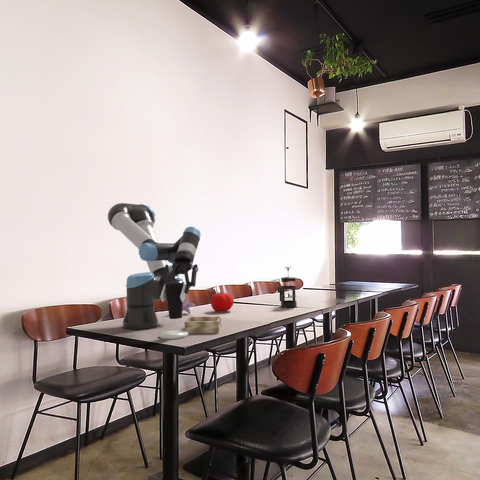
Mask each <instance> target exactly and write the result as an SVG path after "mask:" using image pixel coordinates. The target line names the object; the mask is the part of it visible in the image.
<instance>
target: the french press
mask: <svg viewBox="0 0 480 480" xmlns="http://www.w3.org/2000/svg"><path fill="white" fill-rule="evenodd" d="M284 269H286V270H287V276H284V277H280V280H281V283H287V285H279V302H280V308H282V309H296V308H298V305H297V304H298V303H297V302H298V301H297V300H296V289H297V286H296V285H290V284H289V283H290V282H296V279H297V277H293V276H289V271H290V269H292V267H291V266H290V267H289V266H287V267H284ZM285 290H288V291H287V295H286V293H285ZM290 290H291V291H292V294H290ZM285 298H286V299H287V300H285ZM290 298H291V299H292V300H291V299H290ZM288 299H290V300H288Z"/></svg>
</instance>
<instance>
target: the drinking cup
mask: <svg viewBox="0 0 480 480" xmlns="http://www.w3.org/2000/svg"><path fill="white" fill-rule="evenodd" d="M164 284H165V288H166V296H167V300H166V301H167V302H166V303H167V309H168V311H167V312H168V318H169V319H170V320H178V319H182V318H183V311H182V307H183V302H182V301H181V299H180V295H181V292H182V288H183V285H184V284H185V281H184V280H183V281H181V280H177V279H175V266H173V280H169V281H167V282H166V283H164Z"/></svg>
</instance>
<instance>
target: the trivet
mask: <svg viewBox="0 0 480 480" xmlns="http://www.w3.org/2000/svg"><path fill="white" fill-rule="evenodd" d="M158 335H159V338H160V339H163V340H179V339H186V338H188V337H189V333H188V332H187V331H185V330H179V329H178V330H176V329H175V330H166V331H161V332H160V333H159V334H158Z"/></svg>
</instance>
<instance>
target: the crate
mask: <svg viewBox="0 0 480 480" xmlns="http://www.w3.org/2000/svg"><path fill="white" fill-rule="evenodd" d="M221 328H222V316H219V315H218V316H217V315H216V316H214V315H213V316H210V315H209V316H206V315H205V316H189V317H188V318H187V319H186V320H185V321H184V331H187V332H188V334H219V332H220V330H221Z"/></svg>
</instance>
